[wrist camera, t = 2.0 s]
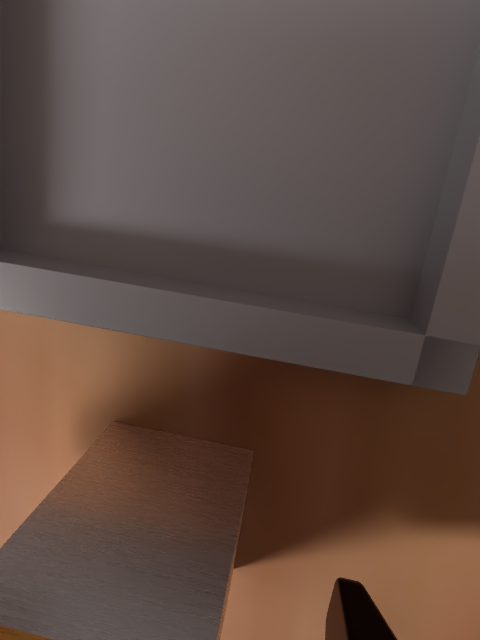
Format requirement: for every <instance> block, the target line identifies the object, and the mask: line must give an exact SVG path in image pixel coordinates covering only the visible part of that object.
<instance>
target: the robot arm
mask: <svg viewBox="0 0 480 640" xmlns="http://www.w3.org/2000/svg"><path fill="white" fill-rule="evenodd" d="M325 640H397V638H396V637H395V635H394V633H393V632H392V630H391V629H390V627H389V626H388V624H387V622H386V621H385V619H384V618H383V616H382V614H381V613H380V611H379V610H378V608H377V606H376V605H375V603H374V602H373V600H372V599H371V597H370V595H369V594H368V592H367V591H366V589H365V587H364V586H363V585H362V584H361V583H360V582H358V581H354V580H350V579H346V578H338V579H337V580H336V582H335V585H334V589H333V592H332V596H331V600H330V604H329V608H328V612H327V618H326V631H325Z"/></svg>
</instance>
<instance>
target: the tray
mask: <svg viewBox="0 0 480 640" xmlns="http://www.w3.org/2000/svg"><path fill="white" fill-rule="evenodd" d="M0 310H6V311H11V312H17V313H22V314H27V315H33V316H38V317H44V318H49V319H54V320H60V321H65V322H71V323H76V324H81V325H87V326H92V327H98V328H103V329H108V330H114V331H119V332H125V333H130V334H136V335H141V336H146V337H152V338H157V339H163V340H168V341H173V342H179V343H184V344H190V345H195V346H200V347H206V348H211V349H217V350H222V351H227V352H233V353H238V354H244V355H249V356H254V357H260V358H265V359H271V360H276V361H281V362H287V363H292V364H298V365H303V366H308V367H314V368H319V369H325V370H330V371H335V372H341V373H346V374H352V375H357V376H362V377H368V378H373V379H379V380H384V381H389V382H395V383H400V384H406V385H411V386H416V387H422V388H427V389H433V390H438V391H443V392H449V393H454V394H460V395H465V396H466V395H467V392H468V389H469V386H470V382H471V379H472V376H473V373H474V370H475V366H476V363H477V360H478V357H479V353H480V0H0Z"/></svg>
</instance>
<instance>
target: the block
mask: <svg viewBox="0 0 480 640" xmlns="http://www.w3.org/2000/svg"><path fill="white" fill-rule="evenodd" d="M253 454H254V450H250V449H245V448H241V447H236V446H231V445H226V444H221V443H216V442H211V441H207V440H202V439H197V438H192V437H187V436H182V435H177V434H173V433H168V432H163V431H158V430H153V429H148V428H143V427H139V426H134V425H129V424H124V423H119V422H114V421H113V422H112V423H111V424H110V426H109V427H108V428H107V429H106V430H105V431H104V432H103V433H102V435H101V436H100V437H99V438H98V439H97V440H96V441H95V442H94V444H93V445H92V446H91V447H90V448H89V449H88V450H87V451H86V453H85V454H84V455H83V456H82V457H81V458H80V459H79V460H78V462H77V463H76V464H75V465H74V466H73V467H72V468H71V469H70V471H69V472H68V473H67V474H66V475H65V476H64V477H63V478H62V480H61V481H60V482H59V483H58V484H57V485H56V486H55V487H54V489H53V490H52V491H51V492H50V493H49V494H48V495H47V496H46V498H45V499H44V500H43V501H42V502H41V503H40V504H39V505H38V507H37V508H36V509H35V510H34V511H33V512H32V513H31V514H30V516H29V517H28V518H27V519H26V520H25V521H24V522H23V523H22V525H21V526H20V527H19V528H18V529H17V530H16V531H15V533H14V534H13V535H12V536H11V537H10V538H9V539H8V540H7V542H6V543H5V544H4V545H3V546H2V547H1V548H0V640H220V637H221V632H222V626H223V621H224V616H225V611H226V605H227V600H228V595H229V590H230V585H231V579H232V574H233V569H234V563H235V557H236V552H237V546H238V540H239V534H240V529H241V523H242V517H243V511H244V506H245V500H246V494H247V488H248V483H249V477H250V471H251V465H252V460H253Z"/></svg>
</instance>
